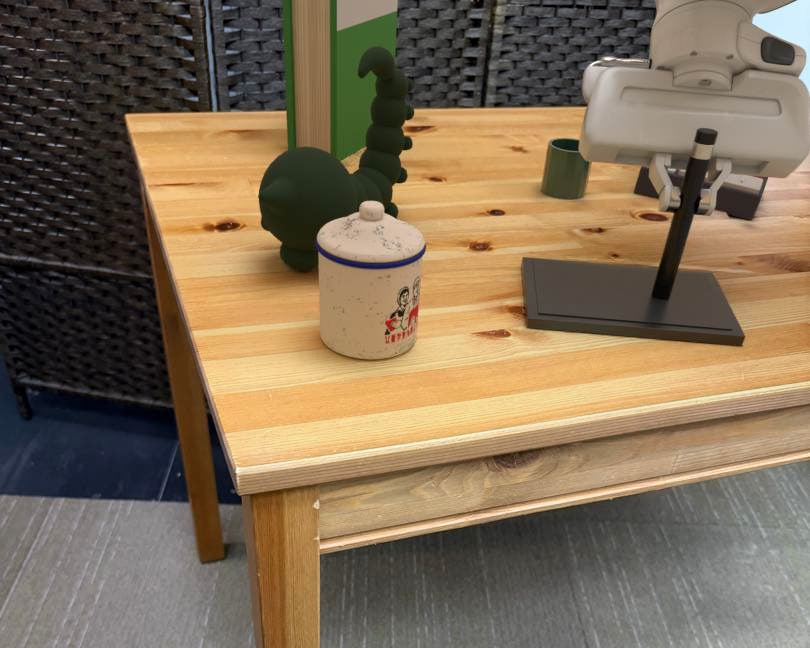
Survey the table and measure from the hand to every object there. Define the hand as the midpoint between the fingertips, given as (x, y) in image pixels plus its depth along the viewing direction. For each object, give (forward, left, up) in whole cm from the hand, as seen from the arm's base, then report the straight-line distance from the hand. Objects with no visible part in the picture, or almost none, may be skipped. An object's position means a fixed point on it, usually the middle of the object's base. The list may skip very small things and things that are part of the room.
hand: (686, 211), depth 74 cm
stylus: (0, -1, -8) cm, 8 cm away
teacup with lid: (+27, +9, -10) cm, 30 cm away
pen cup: (+7, -31, -9) cm, 33 cm away
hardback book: (+37, -46, -10) cm, 60 cm away
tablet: (+3, -1, -9) cm, 10 cm away
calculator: (-11, -35, -10) cm, 38 cm away
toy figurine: (+33, -8, -10) cm, 35 cm away
